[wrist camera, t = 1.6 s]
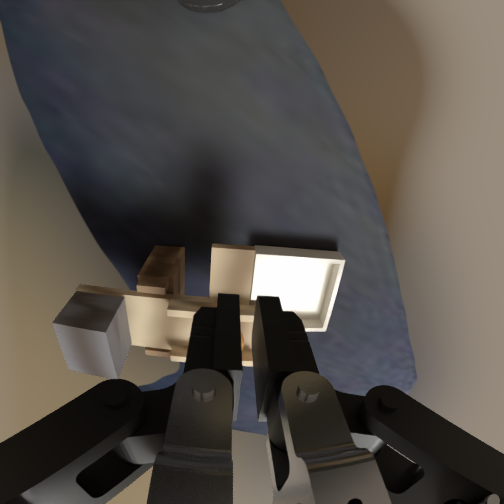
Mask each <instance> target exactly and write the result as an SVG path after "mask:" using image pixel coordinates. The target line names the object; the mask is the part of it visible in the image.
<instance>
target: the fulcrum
mask: <svg viewBox="0 0 504 504" xmlns="http://www.w3.org/2000/svg"><path fill="white" fill-rule="evenodd" d="M137 277H138V284H137V292H142V293H151V294H162V295H165V294H175V295H185V247H175V246H162V245H155V247H154V248H153V250H152V252H151V253H150V255H149V257H148V258H147V260H146V262H145V263H144V265H143V267H142V268H141V270H140V272H139V274H138V275H137ZM145 354H146V355H153V356H161V357H170V355H171V350H169V349H160V348H151V347H145Z"/></svg>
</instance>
